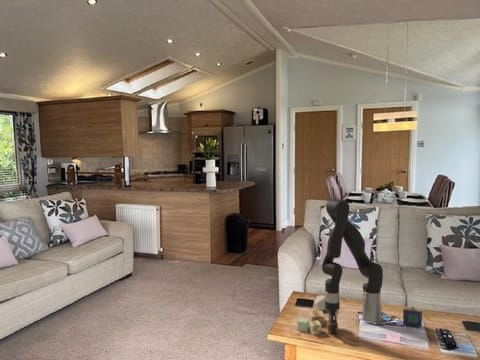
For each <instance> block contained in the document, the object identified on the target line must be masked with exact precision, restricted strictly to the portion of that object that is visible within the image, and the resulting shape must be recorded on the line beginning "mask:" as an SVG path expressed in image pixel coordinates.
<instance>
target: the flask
mask: <svg viewBox="0 0 480 360" xmlns="http://www.w3.org/2000/svg"><path fill="white" fill-rule="evenodd" d="M402 313H403V314H402V319H403V320H402V322H403V323H402V325H403V324H404V325H406V326H405V327H408V326H410V328H423V310H422V309H419V308H415V306H414V305H413V306H411V307H404V308H403V310H402ZM404 325H403V326H404Z"/></svg>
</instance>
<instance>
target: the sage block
mask: <svg viewBox="0 0 480 360" xmlns="http://www.w3.org/2000/svg"><path fill="white" fill-rule="evenodd" d="M308 330H309V318H307V317H298V320H297V331H298V332H305V331H306V332H305V333H307V332H308Z"/></svg>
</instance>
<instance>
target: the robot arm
mask: <svg viewBox="0 0 480 360" xmlns="http://www.w3.org/2000/svg"><path fill="white" fill-rule="evenodd" d="M350 209H351V208H350V204H349V202H348V201H347V200H344V199H338V198H331V199H329V200H327V201H326V204H325V210H326V213H327V214H328V216H329V217H330V219H331V220H332V222H333V223H334V227H333V229H332V230H331V233H330V235H329V237H328V239H327V245H326V246H327V247H326V252H325V253H326V254H325V256H324V259H323V261H322V264H321V270H322V272H323V273H324V274H325V275H328V276H331V278H327V279H326V280H325V281H324V282H325V283H324V284H325V285H324V295H325V308H326V309H327V310H326V311H327V316H328V320H330V322H331V333H332V334H331V335H337V334H336V328H337V323H338V320H337V318H338V316H337V315H338V314H337V311H339V310H340V307H341V306H340V305H341V304H340V302H341V301H340V300H341V299H340V298H341V297H340V282H341V278H342V275H343V267H342V265H341V264H340V263H337V262H334V259H338V258H339V259H340V257H341V254H342V244H343V241H344V242H345V245H346V246H347V247H348V249H349V251H350V253H351V255H352V256H353V258H354V260H355V263H356V265H357V267H358V270H359V272H360V273H361V274H360V275H362V276H363V277H365V278H367V279H368V280H367V282H365V283H363V284H362V321H363V320H364V321H366V322H369V323H378V322H381V323H382V321H383V320H382V319H383V318H382V312H383V310H382V309H383V307H382V305H381V296H382V295H381V293H382V292H381V290H382V287H383V278H384V269H383V267H382V265H381V264H380V263H377V262H374V261H372V260H371V259H370V258H369V256H368V255H367V253H366V241H365V239H364V238H363V236H362V233H361V232H360V230H359V229H358V228H357V227H356V226H355V225H354V224H353V223H352V222H351V221H350V220H349V219H348V218H349V213H350ZM364 321H363V322H364ZM366 322H365V323H366ZM333 323H335V325H334V324H333Z"/></svg>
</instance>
